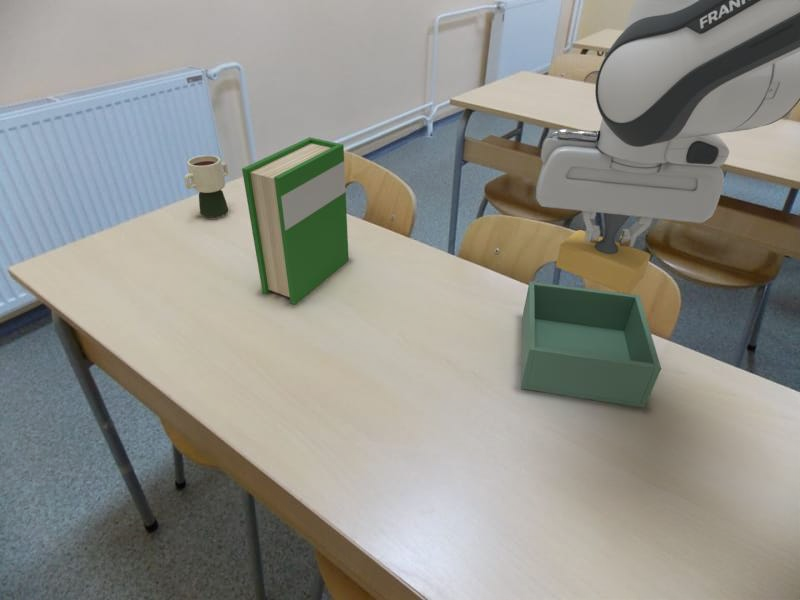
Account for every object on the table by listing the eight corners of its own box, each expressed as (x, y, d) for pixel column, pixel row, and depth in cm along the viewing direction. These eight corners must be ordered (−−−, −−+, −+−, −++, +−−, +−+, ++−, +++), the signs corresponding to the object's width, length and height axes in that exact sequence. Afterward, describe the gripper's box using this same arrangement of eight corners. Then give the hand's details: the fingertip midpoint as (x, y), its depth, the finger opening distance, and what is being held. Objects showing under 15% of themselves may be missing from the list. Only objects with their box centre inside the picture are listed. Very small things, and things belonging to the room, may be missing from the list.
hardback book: (294, 304, 93) (278, 178, 79) (262, 292, 96) (242, 168, 82) (348, 260, 106) (343, 144, 92) (319, 251, 108) (309, 137, 94)
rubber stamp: (643, 277, 68) (673, 192, 61) (627, 296, 64) (657, 208, 57) (572, 251, 73) (593, 170, 66) (554, 267, 70) (573, 184, 62)
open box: (626, 332, 89) (639, 295, 84) (644, 408, 75) (661, 368, 70) (522, 318, 91) (529, 281, 87) (520, 388, 77) (529, 349, 73)
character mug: (224, 202, 126) (214, 150, 119) (243, 210, 123) (234, 157, 115) (185, 217, 119) (172, 163, 112) (204, 227, 116) (191, 171, 108)
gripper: (546, 136, 57) (525, 245, 65) (746, 152, 54) (698, 265, 62) (544, 119, 62) (525, 222, 70) (727, 133, 59) (685, 239, 67)
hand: (608, 242), depth 66 cm, fingers closed on rubber stamp, 3 cm apart
